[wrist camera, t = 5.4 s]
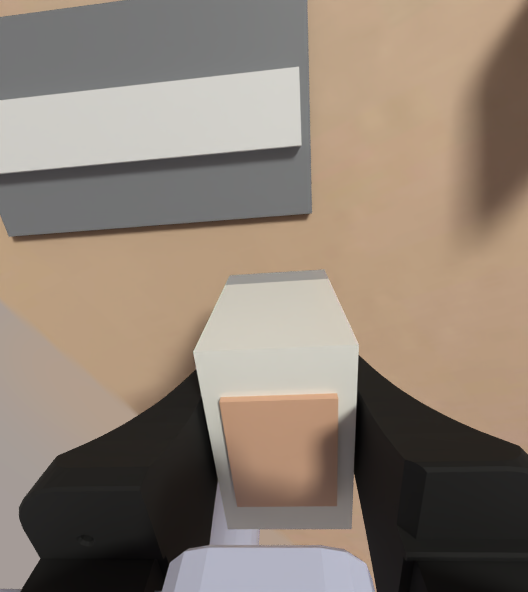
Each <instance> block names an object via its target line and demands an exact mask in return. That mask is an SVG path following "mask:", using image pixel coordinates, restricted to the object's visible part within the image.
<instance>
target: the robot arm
mask: <svg viewBox="0 0 528 592" xmlns="http://www.w3.org/2000/svg"><path fill="white" fill-rule="evenodd" d="M354 475H355V479H356V484H357V489H358V494H359V499H360V504H361V509H362V514H363V519H364V524H365V529H366V534H367V540H368V545H369V551H370V556H371V561H372V567H373V572H374V578H375V584H376V589H377V592H528V454H527V453H526V452H525V451H524V450H523V449H522V448H521V447H520V446H518V445H515V444H513V443H510V442H507V441H504V440H502V439H499V438H496V437H494V436H491V435H488V434H486V433H483V432H480V431H478V430H476V429H473V428H471V427H469V426H467V425H464V424H462V423H460V422H458V421H455V420H453V419H451V418H449V417H447V416H445V415H443V414H441V413H439V412H437V411H436V410H434V409H432V408H430V407H428V406H426V405H424V404H423V403H421V402H419V401H418V400H416V399H414V398H413V397H411V396H410V395H408V394H407V393H405V392H404V391H402V390H401V389H399V388H398V387H396V386H395V385H393V384H392V383H391V382H390V381H388V380H387V379H386V378H384V377H383V376H382V375H381V374H379V373H378V372H377V371H376V370H375V369H373V368H372V367H371V366H370V365H369V364H368V363H367V362H366V361H365V360H364V359H362V358H361V357H360V356H359V355H358V378H357V403H356V428H355V453H354ZM19 519H20V522H21V524H22V527H23V529H24V531H25V533H26V534H27V536H28V538H29V540H30V541H31V543H32V545H33V546H34V548H35V550H36V552H37V553H38V555H39V557H40V558H41V559H40V560H39V562H38V564H37V565H36V567H35V568H34V570H33V572H32V573H31V575H30V577H29V578H28V580H27V582H26V583H25V585H24V586H23V588H22V589H0V592H375V590H374V586H373V581H372V578H371V575H370V573H369V570H368V567H367V565H366V563H364V562H363V561H362V560H360V559H359V558H357V557H356V556H354V555H352V554H351V553H349V552H348V551H346V550H344V549H340V548H334V547H328V546H322V545H259V534H260V529H228V528H227V523H226V518H225V513H224V508H223V503H222V497H221V492H220V487H219V482H218V477H217V472H216V467H215V462H214V457H213V451H212V446H211V441H210V436H209V431H208V426H207V421H206V416H205V411H204V405H203V400H202V395H201V390H200V385H199V380H198V375H197V370H195V371H194V372H193V373H192V374H191V375H190V376H189V377H188V378H186V379H185V380H184V381H183V382H182V383H181V384H180V385H179V386H178V387H176V388H175V389H174V390H173V391H172V392H171V393H169V394H168V395H167V396H166V397H164V398H163V399H162V400H160V401H159V402H158V403H156V404H155V405H153V406H152V407H151V408H149V409H148V410H146V411H144V412H143V413H141V414H140V415H138V416H136V417H135V418H133V419H132V420H130V421H128V422H127V423H125V424H123V425H122V426H120V427H118V428H116V429H114V430H112V431H110V432H109V433H107V434H105V435H103V436H101V437H99V438H97V439H95V440H92V441H90V442H88V443H86V444H84V445H81V446H79V447H77V448H75V449H72V450H70V451H68V452H66V453H63V454H60V455H58V456H57V457H56V458H55V459H54V460H53V462H52V463H51V464H50V466H49V467H48V468H47V470H46V471H45V472H44V473H43V474H42V476H41V477H40V478H39V480H38V481H37V482H36V483H35V485H34V486H33V487H32V489H31V490H30V491H29V493H28V494H27V495H26V496H25V497H24V499H23V501H22V503H21V505H20V507H19Z"/></svg>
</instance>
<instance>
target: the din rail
mask: <svg viewBox="0 0 528 592" xmlns="http://www.w3.org/2000/svg"><path fill="white" fill-rule="evenodd" d="M309 213H312V195H311V149H310V104H309V58H308V12H307V0H124V1H116V2H109V3H102V4H94V5H87V6H79V7H72V8H64V9H57V10H49V11H42V12H35V13H27V14H20V15H12V16H5V17H0V215H1V218H2V220H3V223H4V225H5V228H6V230H7V233H8V236H9V237H10V236H23V235H36V234H49V233H62V232H75V231H88V230H101V229H114V228H127V227H140V226H153V225H166V224H179V223H192V222H205V221H218V220H231V219H244V218H257V217H270V216H283V215H296V214H309Z"/></svg>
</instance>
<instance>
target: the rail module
mask: <svg viewBox="0 0 528 592" xmlns="http://www.w3.org/2000/svg"><path fill="white" fill-rule="evenodd" d="M358 353H359V344H358V342H357V340H356V337H355V335H354V333H353V331H352V329H351V327H350V324H349V322H348V320H347V318H346V316H345V313H344V311H343V309H342V307H341V305H340V303H339V300H338V298H337V296H336V294H335V292H334V289H333V287H332V285H331V283H330V281H329V279H328V276H327V274H326V272H325V270H324V269H323V270H307V271H291V272H276V273H260V274H244V275H230V276H229V278H228V280H227V282H226V284H225V286H224V289H223V291H222V293H221V295H220V297H219V299H218V301H217V303H216V305H215V307H214V309H213V312H212V314H211V316H210V318H209V320H208V322H207V324H206V326H205V328H204V330H203V332H202V335H201V337H200V339H199V341H198V343H197V345H196V347H195V349H194V351H193V354H194V359H195V365H196V370H197V375H198V380H199V385H200V390H201V395H202V400H203V405H204V411H205V416H206V421H207V426H208V431H209V436H210V441H211V446H212V451H213V457H214V462H215V467H216V472H217V477H218V482H219V487H220V492H221V497H222V503H223V508H224V513H225V518H226V523H227V528H228V529H352V504H353V478H354V453H355V428H356V403H357V378H358Z"/></svg>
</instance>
